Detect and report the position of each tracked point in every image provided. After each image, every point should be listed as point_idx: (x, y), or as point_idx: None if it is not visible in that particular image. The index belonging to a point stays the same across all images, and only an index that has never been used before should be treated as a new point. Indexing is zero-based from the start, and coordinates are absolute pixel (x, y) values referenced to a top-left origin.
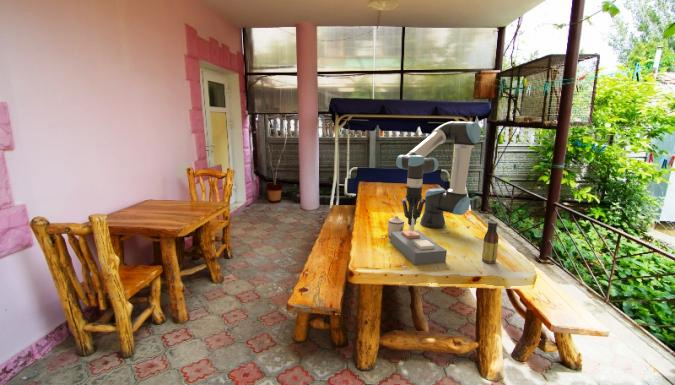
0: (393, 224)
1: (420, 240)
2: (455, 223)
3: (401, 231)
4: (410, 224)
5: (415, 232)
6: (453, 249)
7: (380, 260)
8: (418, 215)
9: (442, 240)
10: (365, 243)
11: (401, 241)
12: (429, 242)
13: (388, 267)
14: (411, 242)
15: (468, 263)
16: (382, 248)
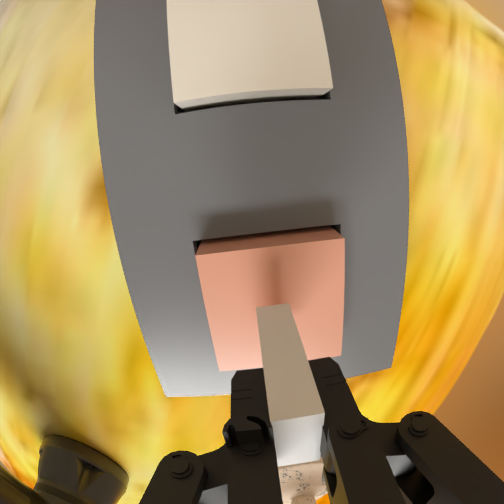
0: None
1: (255, 89)
2: (18, 441)
3: None
4: (315, 364)
5: (221, 325)
6: (15, 202)
7: (481, 96)
8: (189, 486)
9: (45, 328)
10: (472, 307)
11: (406, 173)
12: (178, 37)
13: (458, 22)
14: (335, 126)
15: (29, 28)
16: (438, 241)
